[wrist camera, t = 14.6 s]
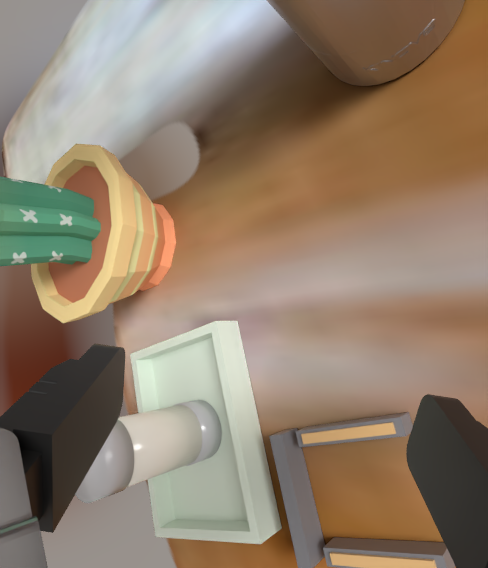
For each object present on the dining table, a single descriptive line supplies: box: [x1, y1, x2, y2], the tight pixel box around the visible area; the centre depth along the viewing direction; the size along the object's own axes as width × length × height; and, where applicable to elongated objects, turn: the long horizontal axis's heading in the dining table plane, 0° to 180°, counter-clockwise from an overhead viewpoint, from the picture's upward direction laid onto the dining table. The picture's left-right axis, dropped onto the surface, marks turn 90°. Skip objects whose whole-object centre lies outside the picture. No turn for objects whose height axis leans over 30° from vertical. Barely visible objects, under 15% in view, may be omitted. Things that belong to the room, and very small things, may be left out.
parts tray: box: [130, 321, 282, 544], centre depth 31 cm, size 15×11×2 cm
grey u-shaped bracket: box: [269, 412, 455, 568], centre depth 23 cm, size 8×9×2 cm
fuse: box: [75, 400, 222, 503], centre depth 28 cm, size 5×5×10 cm
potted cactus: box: [0, 144, 176, 323], centre depth 30 cm, size 16×15×25 cm
